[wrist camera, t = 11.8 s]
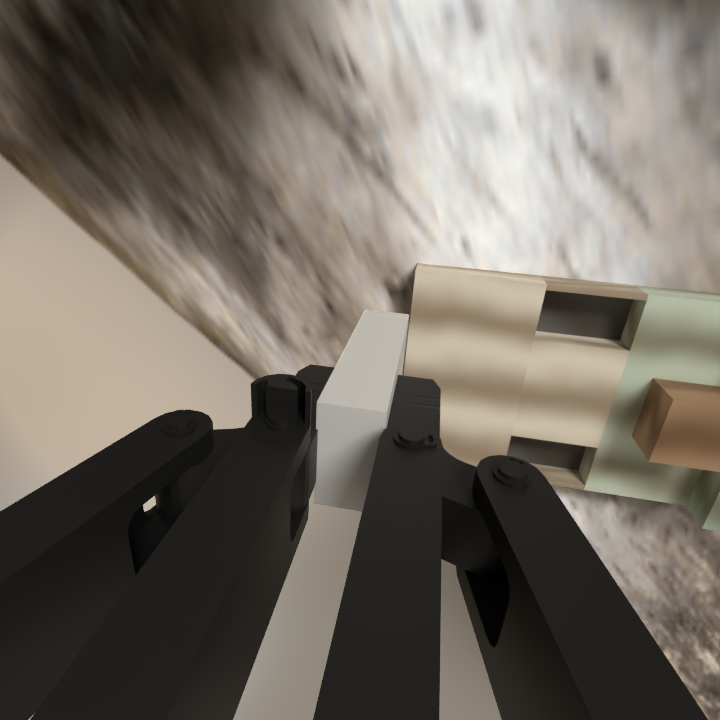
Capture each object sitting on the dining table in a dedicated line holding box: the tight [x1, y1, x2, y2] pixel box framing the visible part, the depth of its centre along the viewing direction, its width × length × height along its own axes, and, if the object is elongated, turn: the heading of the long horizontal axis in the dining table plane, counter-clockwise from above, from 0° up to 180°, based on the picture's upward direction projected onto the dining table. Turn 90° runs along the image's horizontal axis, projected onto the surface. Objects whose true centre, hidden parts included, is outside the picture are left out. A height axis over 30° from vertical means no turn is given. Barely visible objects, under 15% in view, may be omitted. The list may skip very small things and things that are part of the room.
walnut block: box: [632, 378, 720, 472], centre depth 40 cm, size 6×6×4 cm
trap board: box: [403, 263, 720, 531], centre depth 42 cm, size 20×30×6 cm, turn 85°
